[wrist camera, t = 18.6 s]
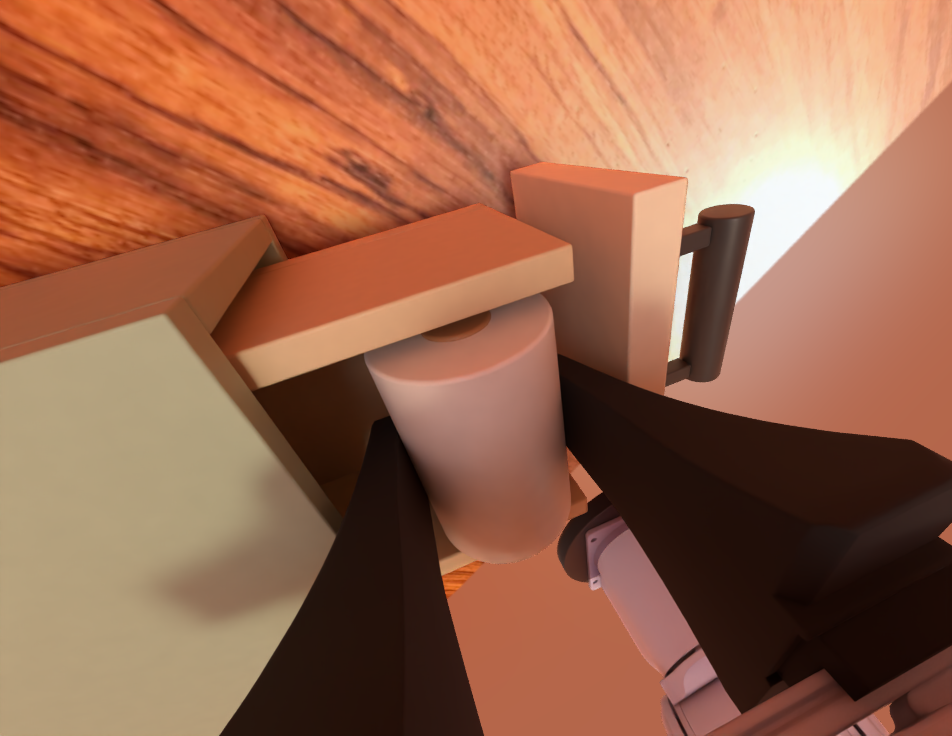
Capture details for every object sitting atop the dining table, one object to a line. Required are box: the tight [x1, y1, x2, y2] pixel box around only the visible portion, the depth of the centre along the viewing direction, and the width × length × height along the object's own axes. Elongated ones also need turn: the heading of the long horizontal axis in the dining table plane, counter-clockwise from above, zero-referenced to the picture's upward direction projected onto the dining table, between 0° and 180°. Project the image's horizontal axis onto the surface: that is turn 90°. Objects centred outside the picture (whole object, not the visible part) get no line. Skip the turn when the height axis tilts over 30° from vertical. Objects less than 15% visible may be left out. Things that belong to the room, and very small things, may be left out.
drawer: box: [210, 162, 755, 576], centre depth 12 cm, size 17×10×6 cm, turn 103°
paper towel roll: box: [364, 293, 571, 564], centre depth 10 cm, size 4×7×4 cm
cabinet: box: [0, 215, 343, 736], centre depth 10 cm, size 13×11×8 cm
